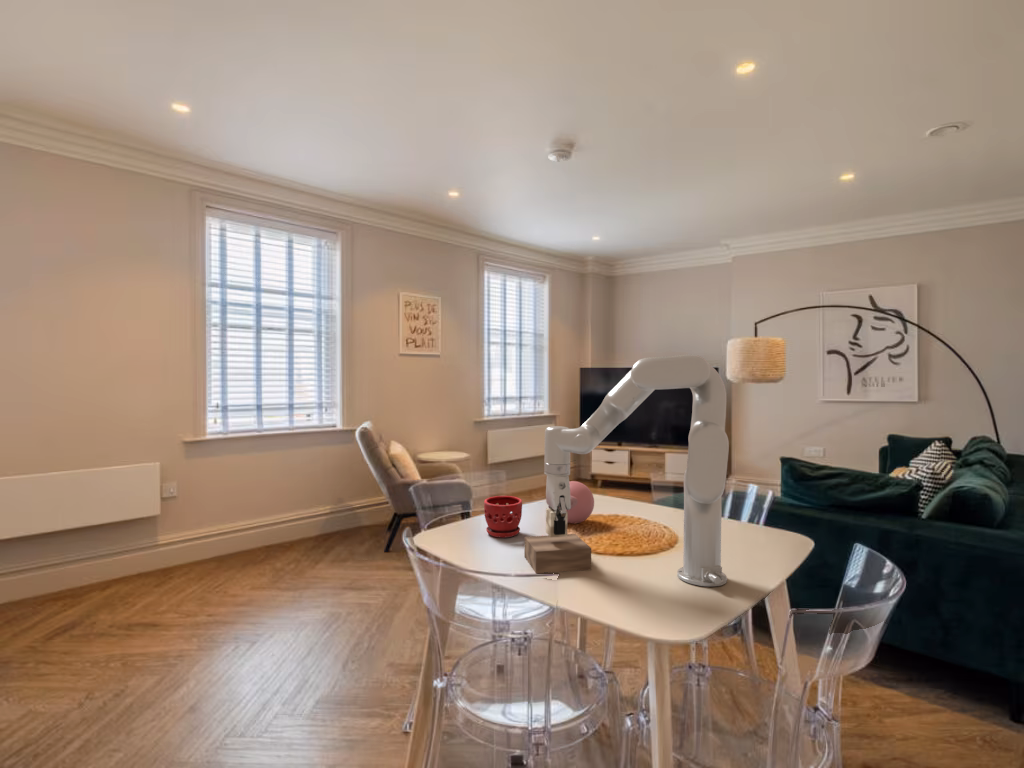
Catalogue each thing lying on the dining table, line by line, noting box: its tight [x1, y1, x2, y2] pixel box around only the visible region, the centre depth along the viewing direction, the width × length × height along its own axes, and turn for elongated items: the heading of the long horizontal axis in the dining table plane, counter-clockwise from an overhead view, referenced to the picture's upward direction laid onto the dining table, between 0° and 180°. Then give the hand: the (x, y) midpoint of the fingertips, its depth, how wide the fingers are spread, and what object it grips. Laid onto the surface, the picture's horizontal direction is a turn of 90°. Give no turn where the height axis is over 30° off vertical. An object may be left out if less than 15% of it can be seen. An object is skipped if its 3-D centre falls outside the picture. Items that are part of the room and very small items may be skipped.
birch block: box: [545, 507, 568, 537], centre depth 155 cm, size 5×5×7 cm
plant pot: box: [483, 495, 523, 538], centre depth 184 cm, size 13×13×12 cm
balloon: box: [559, 480, 595, 524], centre depth 197 cm, size 15×20×15 cm
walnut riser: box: [523, 533, 592, 574], centre depth 155 cm, size 14×16×6 cm
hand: (556, 530), depth 155 cm, fingers closed on birch block, 5 cm apart
